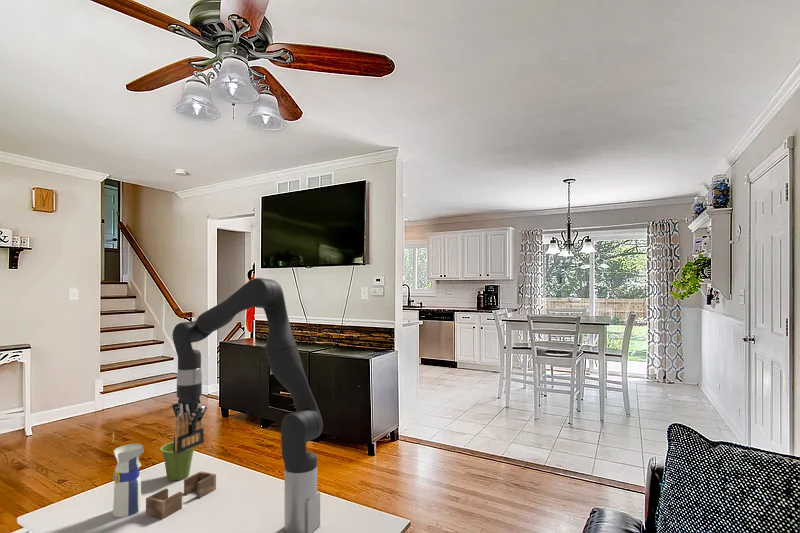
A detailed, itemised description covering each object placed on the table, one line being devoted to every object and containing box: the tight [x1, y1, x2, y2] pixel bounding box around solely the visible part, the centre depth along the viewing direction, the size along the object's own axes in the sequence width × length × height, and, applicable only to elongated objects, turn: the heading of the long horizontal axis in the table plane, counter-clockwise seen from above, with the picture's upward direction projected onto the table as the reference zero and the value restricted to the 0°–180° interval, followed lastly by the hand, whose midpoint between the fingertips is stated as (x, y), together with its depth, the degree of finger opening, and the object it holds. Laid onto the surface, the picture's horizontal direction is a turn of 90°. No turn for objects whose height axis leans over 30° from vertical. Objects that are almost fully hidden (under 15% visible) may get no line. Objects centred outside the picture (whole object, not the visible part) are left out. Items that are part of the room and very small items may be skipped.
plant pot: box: [160, 441, 196, 482], centre depth 162 cm, size 12×12×11 cm
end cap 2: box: [183, 470, 217, 499], centre depth 150 cm, size 7×7×5 cm
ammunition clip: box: [173, 412, 205, 453], centre depth 146 cm, size 11×2×12 cm, turn 158°
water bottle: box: [111, 431, 145, 518], centre depth 138 cm, size 8×9×25 cm
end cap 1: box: [145, 488, 183, 520], centre depth 137 cm, size 7×7×5 cm
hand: (188, 434), depth 146 cm, fingers closed on ammunition clip, 2 cm apart
